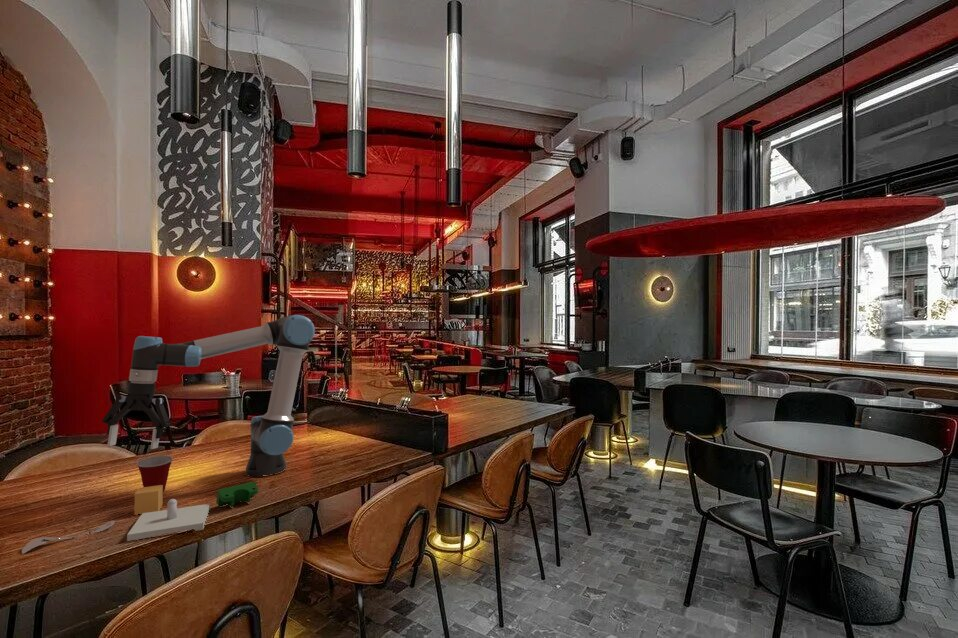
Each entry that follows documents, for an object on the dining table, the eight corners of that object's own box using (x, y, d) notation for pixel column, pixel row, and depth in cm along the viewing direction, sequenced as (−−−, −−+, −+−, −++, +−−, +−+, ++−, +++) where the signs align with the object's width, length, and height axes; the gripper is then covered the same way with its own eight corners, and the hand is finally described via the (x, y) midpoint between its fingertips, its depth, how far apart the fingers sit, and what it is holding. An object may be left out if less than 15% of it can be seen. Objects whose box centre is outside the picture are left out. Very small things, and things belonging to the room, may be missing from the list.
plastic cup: (132, 500, 155) (133, 465, 155) (139, 490, 164) (139, 457, 164) (170, 495, 160) (171, 461, 160) (174, 485, 169) (175, 453, 169)
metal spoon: (112, 512, 136) (117, 515, 133) (113, 523, 136) (118, 527, 133) (18, 541, 120) (22, 546, 117) (19, 554, 120) (23, 560, 117)
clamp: (227, 522, 147) (217, 502, 143) (221, 513, 151) (211, 493, 147) (264, 500, 154) (255, 480, 151) (257, 491, 158) (249, 471, 155)
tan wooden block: (162, 505, 150) (162, 484, 151) (158, 512, 145) (158, 490, 145) (139, 508, 148) (140, 487, 148) (134, 515, 142) (134, 493, 142)
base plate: (210, 509, 147) (210, 486, 147) (203, 529, 132) (203, 503, 132) (142, 519, 139) (142, 494, 139) (127, 542, 125) (127, 514, 125)
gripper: (94, 379, 147) (84, 446, 145) (174, 385, 149) (165, 451, 147) (111, 378, 155) (102, 441, 153) (187, 384, 156) (178, 447, 154)
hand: (132, 446), depth 150 cm, fingers open, 13 cm apart
